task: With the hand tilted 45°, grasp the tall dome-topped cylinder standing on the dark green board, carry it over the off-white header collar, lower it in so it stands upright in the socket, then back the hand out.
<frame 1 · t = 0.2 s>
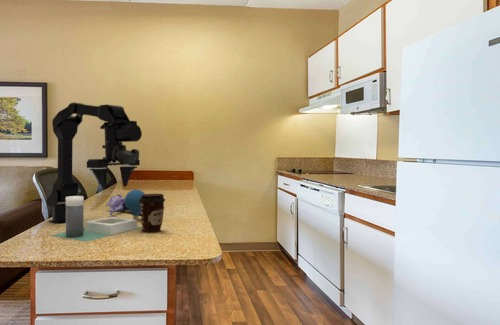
hand: (115, 187, 137), 14 cm above the kitchen counter, tool pointing down, fingers open, 9 cm apart
coffee cup: (152, 234, 133), on the kitchen counter
dome-topped cylinder: (74, 235, 123), point 1 cm above the kitchen counter, touching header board
light bulb: (135, 221, 155), on the kitchen counter
toy: (132, 214, 172), on the kitchen counter
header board: (98, 234, 131), on the kitchen counter
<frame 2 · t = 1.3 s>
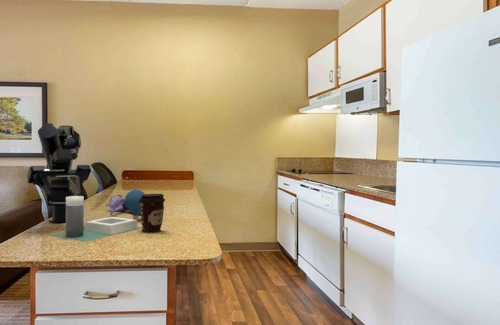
hand: (66, 193, 128), 13 cm above the kitchen counter, tool tilted 45°, fingers open, 9 cm apart
nothing on the kitchen counter moved.
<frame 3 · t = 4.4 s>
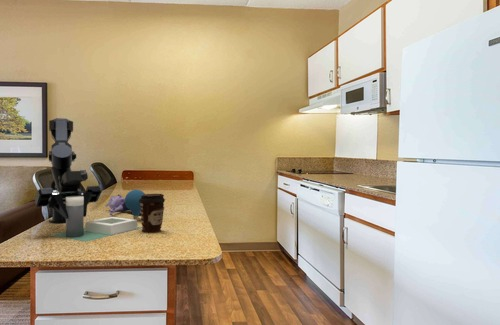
hand: (76, 217, 122), 7 cm above the kitchen counter, tool tilted 45°, fingers closed on dome-topped cylinder, 5 cm apart
dome-topped cylinder: (74, 235, 123), point 1 cm above the kitchen counter, touching gripper, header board
everything else where it was.
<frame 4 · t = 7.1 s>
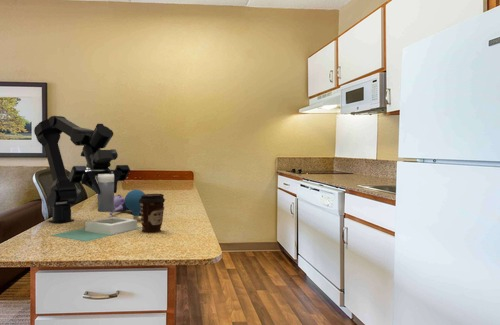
hand: (107, 192, 130), 14 cm above the kitchen counter, tool tilted 45°, fingers closed on dome-topped cylinder, 5 cm apart
dome-topped cylinder: (105, 210, 131), point 8 cm above the kitchen counter, touching gripper
everything else where it was.
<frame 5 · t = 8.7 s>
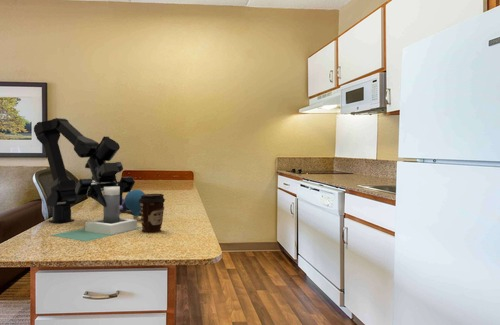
hand: (113, 205, 131), 9 cm above the kitchen counter, tool tilted 45°, fingers closed on dome-topped cylinder, 5 cm apart
dome-topped cylinder: (111, 222, 133), point 3 cm above the kitchen counter, touching gripper
everything else where it was.
when the fingers open (8 cm above the kitchen counter, at t = 10.0 s): dome-topped cylinder stays where it is, resting on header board.
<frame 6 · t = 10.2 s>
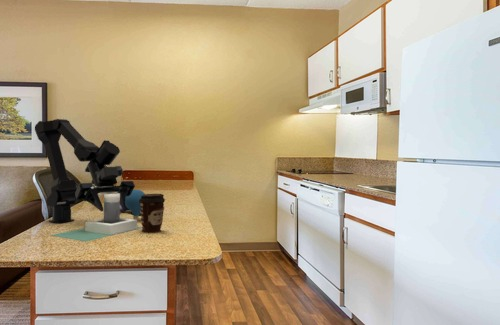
hand: (113, 209, 131), 8 cm above the kitchen counter, tool tilted 45°, fingers open, 7 cm apart
dome-topped cylinder: (111, 229, 133), point 1 cm above the kitchen counter, touching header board
everything else where it was.
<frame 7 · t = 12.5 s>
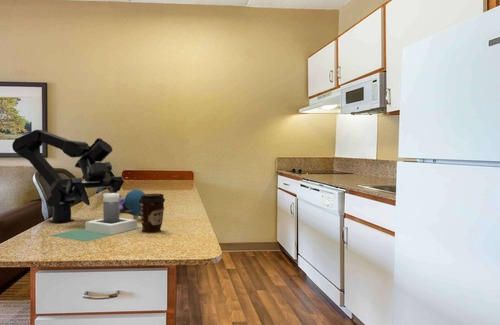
hand: (102, 203, 138), 9 cm above the kitchen counter, tool tilted 45°, fingers open, 9 cm apart
nothing on the kitchen counter moved.
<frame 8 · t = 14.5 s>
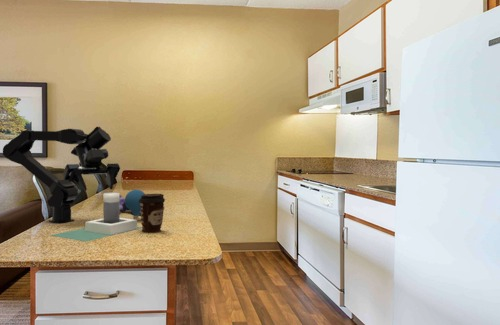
hand: (99, 189, 140), 14 cm above the kitchen counter, tool tilted 45°, fingers open, 9 cm apart
nothing on the kitchen counter moved.
at the end: dome-topped cylinder 0.0 cm from the target spot on the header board, point 1.1 cm above the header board's base; dome-topped cylinder tilted 2°; the gripper is holding nothing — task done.
